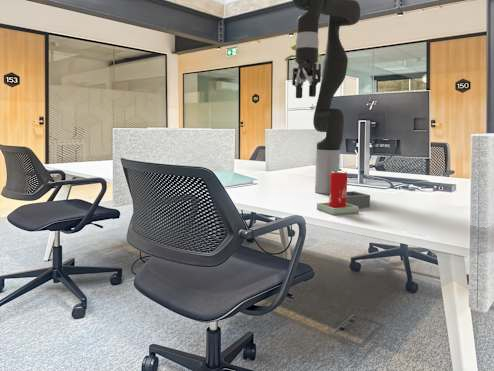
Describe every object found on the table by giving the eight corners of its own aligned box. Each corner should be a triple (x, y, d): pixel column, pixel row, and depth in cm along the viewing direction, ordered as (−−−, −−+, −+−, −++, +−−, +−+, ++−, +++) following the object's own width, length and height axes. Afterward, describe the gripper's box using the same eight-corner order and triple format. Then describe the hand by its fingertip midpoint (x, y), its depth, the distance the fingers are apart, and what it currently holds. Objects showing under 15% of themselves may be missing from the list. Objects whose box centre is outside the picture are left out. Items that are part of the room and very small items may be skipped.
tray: (340, 207, 136) (340, 201, 136) (358, 212, 128) (358, 206, 127) (316, 209, 132) (316, 203, 132) (333, 215, 124) (333, 208, 124)
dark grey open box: (353, 202, 145) (353, 191, 144) (369, 207, 137) (370, 195, 137) (332, 204, 142) (333, 192, 141) (348, 208, 134) (349, 196, 133)
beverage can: (336, 207, 134) (337, 170, 132) (349, 209, 130) (351, 172, 128) (325, 209, 130) (327, 171, 129) (338, 211, 126) (340, 173, 125)
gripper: (328, 45, 133) (326, 96, 135) (305, 52, 146) (303, 98, 148) (308, 43, 130) (307, 95, 132) (286, 50, 143) (285, 98, 145)
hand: (305, 97), depth 140 cm, fingers open, 8 cm apart
